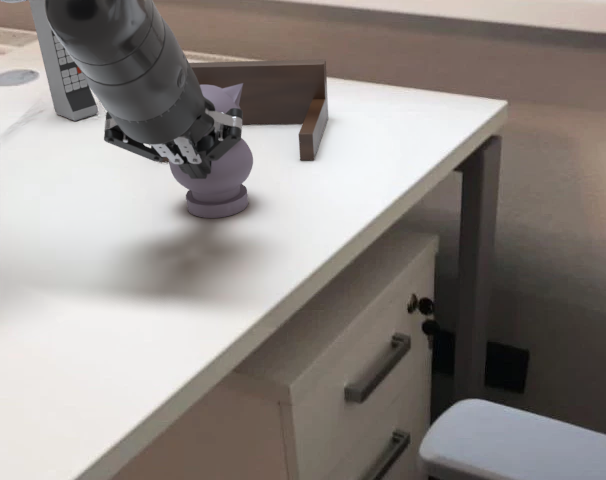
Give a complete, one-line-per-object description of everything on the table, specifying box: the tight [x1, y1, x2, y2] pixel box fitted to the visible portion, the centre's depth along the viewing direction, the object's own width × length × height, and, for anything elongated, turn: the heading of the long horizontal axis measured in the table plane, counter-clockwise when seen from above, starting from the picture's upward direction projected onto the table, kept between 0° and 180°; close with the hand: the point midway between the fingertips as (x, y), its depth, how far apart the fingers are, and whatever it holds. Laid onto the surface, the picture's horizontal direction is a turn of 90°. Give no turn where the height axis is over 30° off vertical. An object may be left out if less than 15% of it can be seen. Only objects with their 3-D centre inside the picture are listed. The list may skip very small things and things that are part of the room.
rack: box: [161, 58, 329, 163], centre depth 104 cm, size 14×18×7 cm
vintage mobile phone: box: [28, 0, 99, 122], centre depth 110 cm, size 4×5×25 cm
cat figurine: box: [168, 83, 254, 219], centre depth 88 cm, size 8×8×12 cm
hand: (199, 169), depth 85 cm, fingers closed
